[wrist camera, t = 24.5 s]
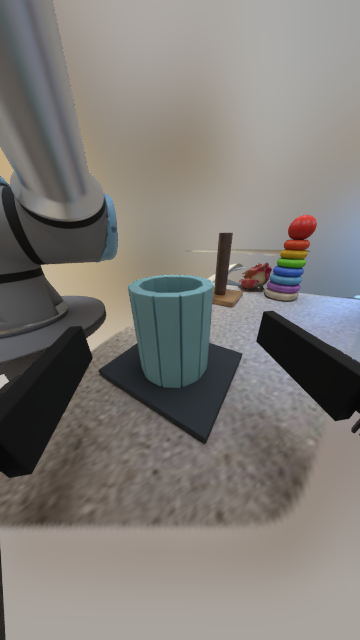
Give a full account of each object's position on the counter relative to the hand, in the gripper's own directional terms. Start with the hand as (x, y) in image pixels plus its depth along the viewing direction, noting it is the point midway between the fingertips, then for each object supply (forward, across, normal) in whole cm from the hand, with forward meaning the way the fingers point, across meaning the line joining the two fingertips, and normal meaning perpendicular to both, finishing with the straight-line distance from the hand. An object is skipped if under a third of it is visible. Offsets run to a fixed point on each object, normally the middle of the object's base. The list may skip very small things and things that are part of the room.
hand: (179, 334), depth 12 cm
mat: (+6, 0, -8) cm, 10 cm away
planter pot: (+6, 0, -8) cm, 9 cm away
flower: (+36, +28, -8) cm, 46 cm away
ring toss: (+29, +15, -8) cm, 34 cm away
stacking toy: (+27, +32, -8) cm, 43 cm away
